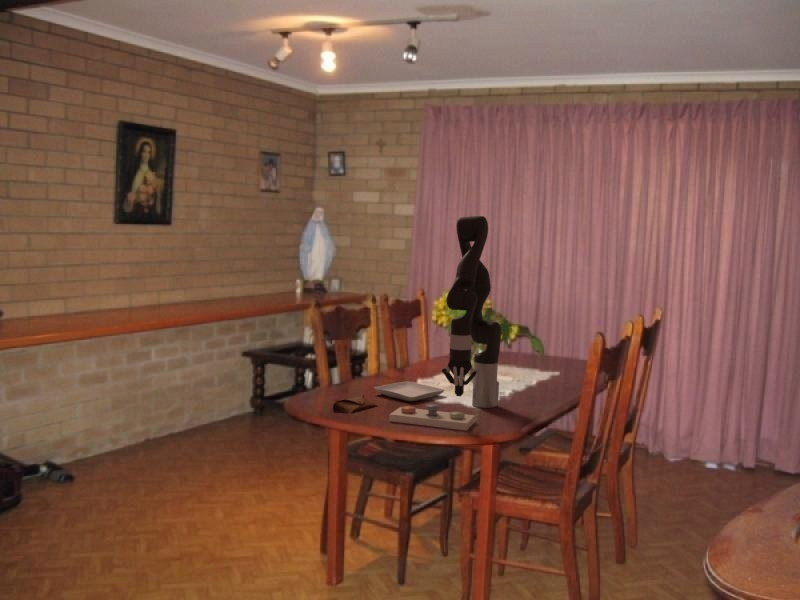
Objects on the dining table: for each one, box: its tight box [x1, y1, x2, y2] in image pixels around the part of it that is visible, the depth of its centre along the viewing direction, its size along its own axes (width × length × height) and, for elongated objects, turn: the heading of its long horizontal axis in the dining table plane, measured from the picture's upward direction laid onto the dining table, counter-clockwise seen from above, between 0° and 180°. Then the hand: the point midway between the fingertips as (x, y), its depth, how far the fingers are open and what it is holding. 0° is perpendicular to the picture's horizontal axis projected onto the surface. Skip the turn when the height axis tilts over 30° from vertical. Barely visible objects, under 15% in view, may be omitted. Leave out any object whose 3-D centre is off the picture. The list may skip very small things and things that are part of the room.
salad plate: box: [373, 381, 446, 402], centre depth 319 cm, size 21×21×3 cm
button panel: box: [388, 406, 476, 431], centre depth 279 cm, size 28×12×2 cm, turn 71°
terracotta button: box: [400, 405, 417, 414], centre depth 281 cm, size 5×5×4 cm
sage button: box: [449, 411, 466, 420], centre depth 276 cm, size 5×5×4 cm
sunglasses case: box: [332, 394, 379, 415], centre depth 295 cm, size 18×7×7 cm
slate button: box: [424, 403, 441, 417], centre depth 278 cm, size 5×5×4 cm
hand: (458, 395), depth 275 cm, fingers closed
